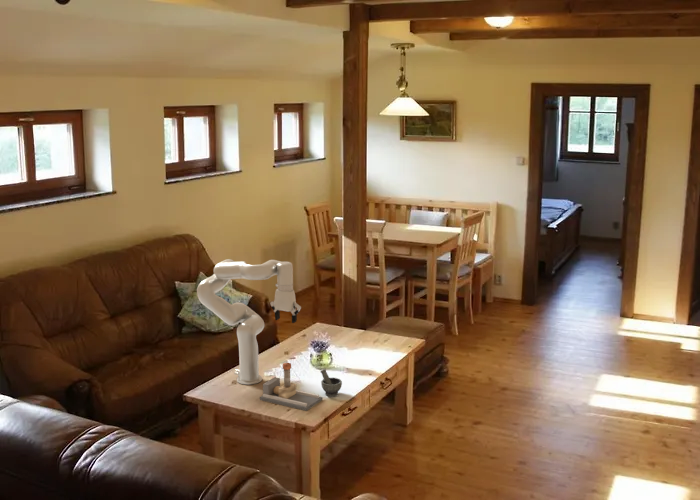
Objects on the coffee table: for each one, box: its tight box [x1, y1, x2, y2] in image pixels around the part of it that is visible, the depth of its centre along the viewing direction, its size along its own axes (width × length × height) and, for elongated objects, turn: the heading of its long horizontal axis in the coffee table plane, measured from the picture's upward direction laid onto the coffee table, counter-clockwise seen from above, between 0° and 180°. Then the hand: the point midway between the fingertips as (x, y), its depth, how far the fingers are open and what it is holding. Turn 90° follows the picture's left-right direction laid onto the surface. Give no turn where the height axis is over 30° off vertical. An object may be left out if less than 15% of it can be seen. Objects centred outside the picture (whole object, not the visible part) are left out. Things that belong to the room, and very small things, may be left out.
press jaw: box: [279, 362, 297, 399], centre depth 373 cm, size 4×9×16 cm, turn 151°
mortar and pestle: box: [320, 368, 343, 398], centre depth 380 cm, size 11×9×12 cm
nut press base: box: [259, 376, 323, 412], centre depth 374 cm, size 26×14×8 cm, turn 62°
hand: (285, 321), depth 386 cm, fingers open, 9 cm apart
